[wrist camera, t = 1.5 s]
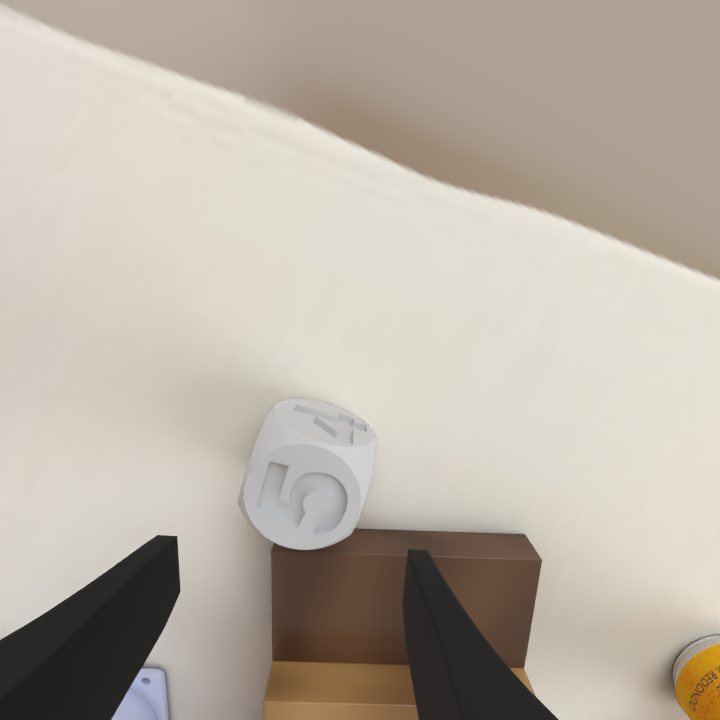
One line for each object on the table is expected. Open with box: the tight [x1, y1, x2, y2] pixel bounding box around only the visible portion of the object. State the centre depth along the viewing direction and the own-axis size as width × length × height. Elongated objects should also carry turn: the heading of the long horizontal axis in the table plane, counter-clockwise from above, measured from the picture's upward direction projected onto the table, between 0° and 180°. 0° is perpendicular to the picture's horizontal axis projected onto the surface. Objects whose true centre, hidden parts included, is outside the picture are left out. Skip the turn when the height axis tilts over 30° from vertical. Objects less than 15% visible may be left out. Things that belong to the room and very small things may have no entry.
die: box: [239, 398, 376, 550], centre depth 17 cm, size 5×5×5 cm
